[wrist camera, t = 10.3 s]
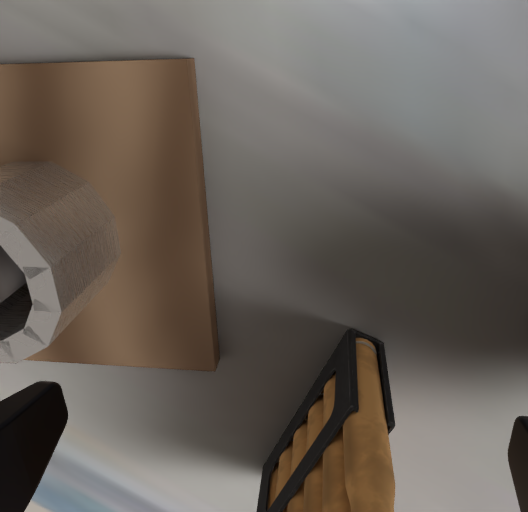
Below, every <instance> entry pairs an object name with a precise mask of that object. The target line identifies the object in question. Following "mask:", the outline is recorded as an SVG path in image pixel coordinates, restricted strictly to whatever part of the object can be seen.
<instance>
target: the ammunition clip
mask: <svg viewBox="0 0 528 512" xmlns="http://www.w3.org/2000/svg"><path fill="white" fill-rule="evenodd" d="M394 427H395V420H394V413H393V406H392V399H391V392H390V385H389V378H388V371H387V363H386V356H385V349H384V343H383V342H380V341H378V340H376V339H373V338H371V337H369V336H366V335H364V334H362V333H360V332H357V331H355V330H353V329H350V330H347V331H346V333H345V335H344V336H343V338H342V340H341V341H340V343H339V344H338V346H337V348H336V349H335V351H334V353H333V354H332V356H331V357H330V359H329V361H328V362H327V364H326V365H325V367H324V369H323V370H322V372H321V374H320V375H319V377H318V378H317V380H316V382H315V383H314V385H313V387H312V388H311V390H310V391H309V393H308V395H307V396H306V398H305V399H304V401H303V403H302V404H301V406H300V408H299V409H298V411H297V412H296V414H295V416H294V417H293V419H292V421H291V422H290V424H289V425H288V427H287V429H286V430H285V432H284V434H283V435H282V437H281V438H280V440H279V442H278V443H277V445H276V446H275V448H274V450H273V451H272V453H271V455H270V456H269V458H268V459H267V461H266V463H265V464H264V466H263V471H262V478H261V485H260V492H259V499H258V506H257V512H394V497H395V480H394V473H393V466H392V459H391V451H390V444H389V437H388V435H389V433H390V432H391V431H392V430H393V428H394Z"/></svg>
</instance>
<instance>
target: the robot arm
mask: <svg viewBox="0 0 528 512" xmlns="http://www.w3.org/2000/svg"><path fill="white" fill-rule="evenodd" d="M67 420H68V410H67V407H66V403H65V399H64V396H63V392H62V389H61V386H60V385H59V384H58V383H56V382H48V381H39V382H36V383H34V384H32V385H30V386H29V387H27V388H25V389H23V390H21V391H19V392H17V393H15V394H13V395H11V396H10V397H8V398H6V399H4V400H2V401H0V512H24V511H25V509H26V507H27V506H28V504H29V502H30V500H31V498H32V497H33V495H34V493H35V491H36V489H37V487H38V485H39V483H40V481H41V478H42V476H43V474H44V472H45V470H46V468H47V465H48V463H49V461H50V459H51V457H52V454H53V452H54V450H55V448H56V446H57V444H58V441H59V439H60V437H61V435H62V433H63V430H64V428H65V426H66V423H67ZM508 462H509V466H510V470H511V474H512V478H513V482H514V486H515V490H516V495H517V499H518V503H519V507H520V511H521V512H528V416H519V417H517V418H516V420H515V422H514V426H513V430H512V434H511V439H510V443H509V448H508Z"/></svg>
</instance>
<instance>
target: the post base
mask: <svg viewBox="0 0 528 512" xmlns="http://www.w3.org/2000/svg"><path fill="white" fill-rule="evenodd" d="M14 161H18V162H53V163H55V164H57V165H59V166H61V167H63V168H64V169H66V170H68V171H70V172H72V173H74V174H75V175H77V176H79V177H81V178H83V179H85V180H86V181H88V182H89V183H91V185H92V186H93V188H94V189H95V190H96V192H97V193H98V194H99V196H100V197H101V198H102V200H103V201H104V202H105V204H106V205H107V206H108V208H109V209H110V210H111V212H112V213H113V215H114V216H115V220H116V226H117V232H118V237H119V243H120V249H121V255H120V257H119V259H118V261H117V264H116V266H115V268H114V271H113V273H112V275H111V277H110V280H109V282H108V283H107V284H106V285H105V286H104V287H103V288H102V289H101V291H100V292H99V293H98V294H97V295H96V296H95V297H94V298H93V299H92V300H91V301H90V302H89V303H88V304H87V305H86V307H85V308H84V309H83V310H82V311H81V312H80V313H79V314H78V315H77V316H76V317H75V318H74V319H73V320H72V321H71V323H70V324H69V325H68V326H67V327H66V328H65V329H64V330H63V331H62V332H61V333H60V334H59V335H58V336H57V337H56V339H55V340H54V341H53V342H52V343H51V344H50V345H49V346H48V347H46V348H45V349H43V350H41V351H39V352H37V353H35V354H33V355H31V356H29V357H27V358H26V359H24V360H34V361H51V362H67V363H83V364H100V365H116V366H133V367H149V368H166V369H182V370H198V371H216V368H217V365H218V362H219V360H220V356H219V344H218V332H217V321H216V309H215V297H214V285H213V274H212V262H211V250H210V238H209V227H208V215H207V203H206V191H205V180H204V168H203V156H202V144H201V133H200V121H199V109H198V97H197V86H196V74H195V62H194V58H189V59H156V60H124V61H91V62H58V63H25V64H0V166H3V165H5V164H8V163H11V162H14ZM26 283H27V281H26V277H25V274H24V273H23V271H22V270H21V269H20V268H19V267H18V265H17V264H16V263H15V262H14V261H13V260H12V258H11V257H10V256H9V255H8V254H7V252H6V251H5V250H4V249H3V248H2V247H1V245H0V303H1V302H2V301H4V300H5V299H6V298H8V297H9V296H10V295H11V294H13V293H14V292H15V291H17V290H18V289H19V288H20V287H22V286H23V285H24V284H26Z"/></svg>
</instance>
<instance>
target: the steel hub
mask: <svg viewBox="0 0 528 512" xmlns="http://www.w3.org/2000/svg"><path fill="white" fill-rule="evenodd" d="M0 245H1V247H2V248H3V249H4V250H5V251H6V252H7V254H8V255H9V256H10V257H11V258H12V260H13V261H14V262H15V263H16V264H17V265H18V267H19V268H20V269H21V270H22V271H23V273H24V274H25V277H26V281H27V283H26V284H24V285H23V286H22V287H20V288H19V289H18V290H17V291H15V292H14V293H13V294H11V295H10V296H9V297H8V298H6V299H5V300H4V301H2V302H1V303H0V363H14V364H16V363H18V362H20V361H22V360H24V359H26V358H27V357H29V356H31V355H33V354H35V353H37V352H39V351H41V350H43V349H45V348H46V347H48V346H49V345H50V344H51V343H52V342H53V341H54V340H55V339H56V337H57V336H58V335H59V334H60V333H61V332H62V331H63V330H64V329H65V328H66V327H67V326H68V325H69V324H70V323H71V321H72V320H73V319H74V318H75V317H76V316H77V315H78V314H79V313H80V312H81V311H82V310H83V309H84V308H85V307H86V305H87V304H88V303H89V302H90V301H91V300H92V299H93V298H94V297H95V296H96V295H97V294H98V293H99V292H100V291H101V289H102V288H103V287H104V286H105V285H106V284H107V283H108V282H109V280H110V277H111V275H112V273H113V271H114V268H115V266H116V264H117V261H118V259H119V257H120V255H121V249H120V243H119V237H118V232H117V226H116V220H115V216H114V215H113V213H112V212H111V210H110V209H109V208H108V206H107V205H106V204H105V202H104V201H103V200H102V198H101V197H100V196H99V194H98V193H97V192H96V190H95V189H94V188H93V186H92V185H91V183H89V182H88V181H86V180H85V179H83V178H81V177H79V176H77V175H75V174H74V173H72V172H70V171H68V170H66V169H64V168H63V167H61V166H59V165H57V164H55V163H53V162H18V161H14V162H11V163H8V164H5V165H3V166H0Z"/></svg>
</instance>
